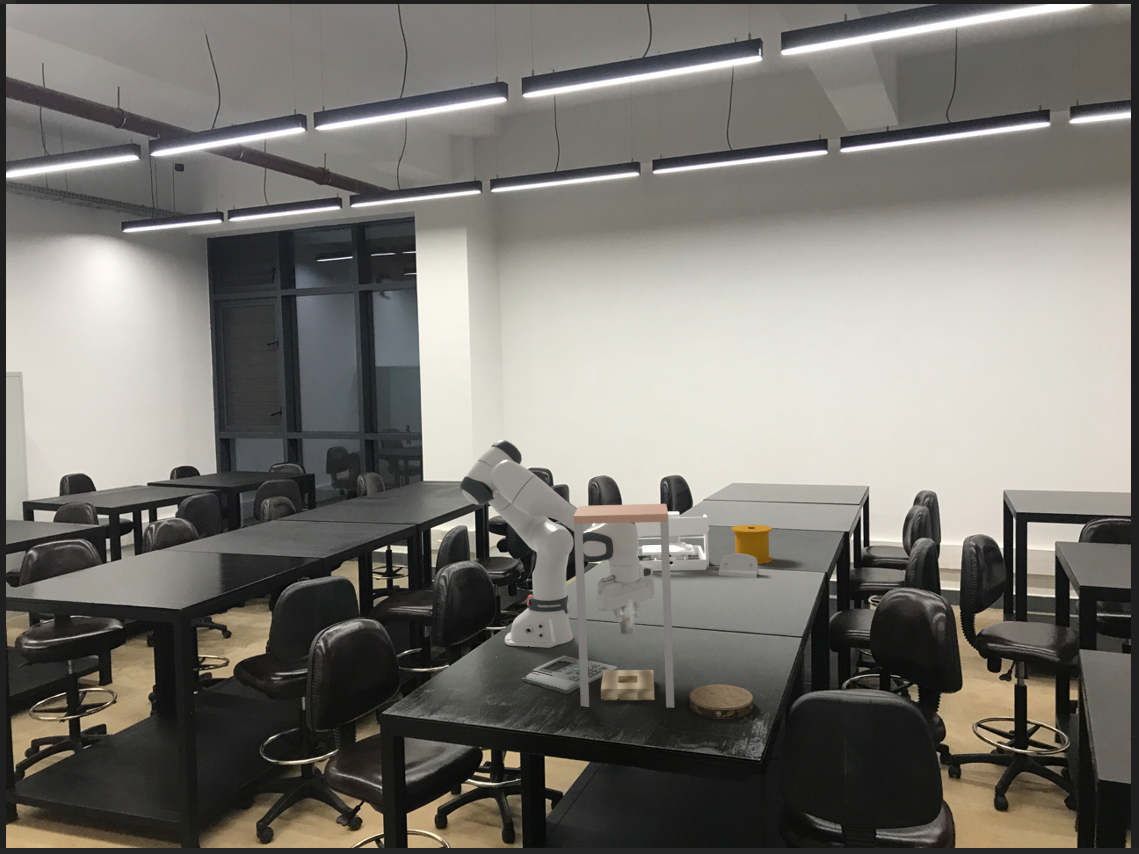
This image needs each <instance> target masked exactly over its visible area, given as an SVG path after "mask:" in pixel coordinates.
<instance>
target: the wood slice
mask: <svg viewBox="0 0 1139 854" xmlns="http://www.w3.org/2000/svg"><path fill="white" fill-rule="evenodd" d="M689 706H690V709H691V710H692V712H695V713H696V714H698V715H700V716H703V717H705V718H706V717H707V718H711V719H721V720H722V719H724V720H727V719H736V718H741V717H745V716H746V715H748V714H750V713H751V712H752V711H753V709H754V708H753V707H754V696H753V694H752V693H751V691H749V690H748V689H746V688H743V687H741V686H737V685H731V684H722V683H720V684H719V683H715V684H706V685H705V684H704V685H702V686H699V687H696V688H694V689H692V690H691V691H690V694H689Z"/></svg>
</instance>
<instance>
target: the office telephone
mask: <svg viewBox="0 0 1139 854" xmlns="http://www.w3.org/2000/svg"><path fill="white" fill-rule="evenodd" d="M559 660H565V661H570V662H574V663H573V664H572V663H569V664H568V665H567V666H564V667H562V668H560V669H557V670H556V671H554V670H553V671H552V670H549V669H546V668H545V669H542V668H544V667H546V666H549V665H551V664H553V663H555V662H557V661H559ZM551 666H552V665H551ZM549 667H550V666H549ZM603 670H619V667H618V666H615V665H611V664H607V663H603V662H598V661H594V660H588V683H589V682H591V681H594V680H596V681H597V679H598V680H600V679H602V678H601V677H603ZM533 671H538V672H542V673H545V674H542V673H538V672H533ZM546 674H549V675H546ZM550 675H552V676H550ZM525 677H526V678H525ZM524 678H525V679H527V680H531V681H534V682H538V683H542V684H545V685H549V686H553V687H557V688H560V689H563V690H569V689H571V688H573V687H575V686H577V685H579V687H580V668H579V658H574V657H570V656H567V655H562V656H559V657H557V658H554V659H552V660H551V661H548V662H546V663H544V664H542V665H539V666H537V667H535V668H533V669H532V671H530V673H528V674H527V675H526V676H524V677H522V679H524ZM599 678H600V679H599ZM522 679H521V680H522ZM594 682H595V681H594Z"/></svg>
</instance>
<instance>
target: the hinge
mask: <svg viewBox="0 0 1139 854" xmlns="http://www.w3.org/2000/svg"><path fill="white" fill-rule="evenodd" d="M759 573H760V572H759V564H758V561H757V558H755V557H753V556H750V555H747V554H740V553H730V554H725V555H722V556H721V557H720V563H719V569H718V576H723V577H742V578H755V577H758V576H759Z"/></svg>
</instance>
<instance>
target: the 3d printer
mask: <svg viewBox="0 0 1139 854" xmlns="http://www.w3.org/2000/svg"><path fill="white" fill-rule="evenodd" d="M708 517H709V516H707V514H703V516H693V517H692V516H684V517H682V516H680V511H668V525H669V555H671V556H669V557H670V562H672V564H670V571H707V570H708V568H709V567H710V559H709V557H710V556H709V551H710V550H709V532H710V530H711V529H710V525H708V524H709V523H708ZM636 526H637V531H638V540H639V541H640V540H661V528H660V522H636ZM699 535H700V536H699ZM702 535H703V536H702ZM655 536H656V537H655ZM658 536H660V537H658ZM681 536H682V537H681ZM683 539H703V547H704V548H702V546H701V545H693V544H687V543H686V542H684V541H682V542H681V540H683ZM703 549H704V550H703ZM638 555H639V556H640V555H651V556H650V560H639V562H640V565H642V566H646V567H650V568H652V569H653V572H656V571H657V572H659V571H661V572H662V558H661V544H658V545H657V544H653V545H651V544H650V545H648V544H647V545H641V546H639V549H638ZM688 555H691V556H698V559H689V556H688ZM706 569H707V570H706Z"/></svg>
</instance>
